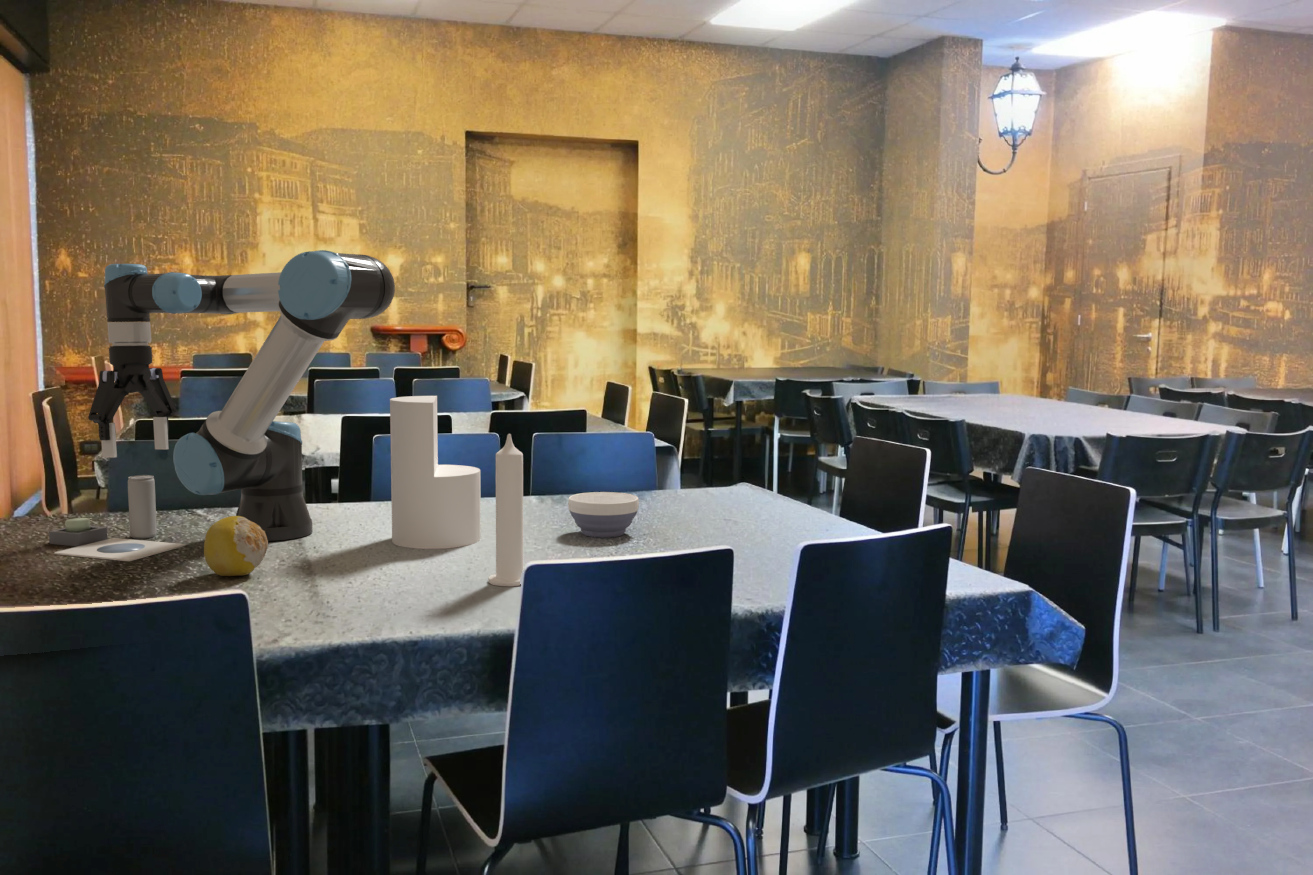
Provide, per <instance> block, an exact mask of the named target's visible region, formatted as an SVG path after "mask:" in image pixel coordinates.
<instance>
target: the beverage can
mask: <svg viewBox="0 0 1313 875" xmlns="http://www.w3.org/2000/svg"><path fill="white" fill-rule="evenodd" d="M127 479H128V480H127V496H128V498H127V499H128V517H129V518H128V520H129V533H130V534H129V535H130V537H132V538H133V539H134V540H144V539H150V538H154V537H155V536H156V535H157V533H158V532H157V531H158V530H157V527H158V526H157V508H156V506H157V505H156V484H155V477H154V475H150V474H139V475H131V476H128V478H127Z"/></svg>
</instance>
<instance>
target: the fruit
mask: <svg viewBox="0 0 1313 875" xmlns="http://www.w3.org/2000/svg"><path fill="white" fill-rule="evenodd" d="M204 537H205V538H204V544H203V556H204V559H205V560H204V561H205V562H206V564H207V566H208V567H209V569H210V570H211V571H212V572H214V574H216V575H218V576H221V577H238V576H239V577H240V576H245V575H249V574H250V573H251V572H253V571H254V570H255V568H257V567H258V566H259V565H260V564H261V563H262V562H263V560H264V558H265V556H266V553H267V550H268V547H269V541H268V540H267V536H266V534H265V531H263V530H262V529H261V527H260V526H259V525H257V524H256V523H254V522H252V521H250V520H248V519H246V518H245V517H241V516H236V515H230V516H226V517H223V518H220V519H218V520H217V521H215V522H214V523H213V524H211V526H210V527H209V528H208V530H207V532H206V533H205V536H204Z"/></svg>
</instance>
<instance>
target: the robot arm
mask: <svg viewBox="0 0 1313 875" xmlns="http://www.w3.org/2000/svg"><path fill="white" fill-rule="evenodd" d="M103 289H104V292H105V293H104V295H105V308H106V321H107V322H106V324H107V337H108V338H107V339H108V343H109V344H112V345H110V346H109V347H108V356H109V357H108V358H109V364H110V365H112V367H113V370H100V371H99V378H98V380H99V381H98V385H97V388H96V391H95V394H94V398H93V401H92V404H91V408H90V410H89V413H88V417H87V419H88V421H92V422H93V423H94V424H98V437H99V441H101V456H102V458H111V459H113V458H118V453H117V452H118V451H117V449H118V448H117V436H116V435H117V434H116V422H112V421H113V419H114V417H115V415H116V414H117V412H118V409H119V408H120V406H121V405H122V402H123V401H124V399H125V397H126V396H128V395H129V394H131V393H132V394H133V393H139V394H141V396H142V397H143V399H144V400H145V401H146V403H147V405H148V406H149V408H150V409H151V410H152V412H154V414H155V416H152V417H153V418H152V422H153V423H152V424H153V437H154V438H153V439H154V441H153V442H154V450H163V451H164V450H169V449H170V448H169V431H170V422H169V418H170V417H173V416H174V414H175V413H176V412H177V407H176V405H175V402H174V401H173V400H174V399H173V398H172V395H171V393H170V392H169V389H168V386H167V384H166V382H165V379H164V375H163V369H162V368H160V367H150V365H152V364H153V350H152V346H151V345H149V343H151V342H152V330H151V318H150V317H151V316H150V314H174V315H175V314H212V315H213V314H217V315H219V314H221V315H233V314H239V313H264V312H266V313H267V312H269V313H270V312H279V313H280V316H279V317H278V319H277V321H276V322H275V324H274V326H273V327H272V329H271V331H270V332H269V334H268V335H267V337H266V339H265V340H264V342H263V343H262V345H261V346H260V348H259V350H258V351H257V353H256V355H254V356H255V357H254V358H253V360H252V361H251V363H250V364H249V366H248V368H247V369H246V371H245V372H244V375H243V376H242V377H241V379H240V381H239V382H238V384H237V385H236V387H235V388H234V390H233V392H232V394H231V395H230V397H229V398H228V400H227V401H226V403H225V404H224V406H223V408H222V410H216V411H213V412H211V413H209V415H208V416H207V417H206V418H205V420H204V421H203V424H202V425H201V427H200V428H199V430H198V431H197V432H196V433H195V432H189V433H187V434H185V435H183V436H181V437H180V438H179V439H178V440H177V442H175V445H174V449H173V459H172V460H173V465H174V471H175V473H176V476H177V478H178V480H179V481H180V482H181V484H182V485H183V486H184V487H185V488H186V489H187V490H188V491H189V492H191V493H193V494H195V495H199V496H206V495H213V496H215V495H219V494H223V493H226V492H231V491H237V490H240V495H241V496H240V501H239V502H238V503H239V504H238V506H237V507H238V508H237V510H236V514H235V516H241V517H245V518H246V519H248V520H250V521H252V522H254V523H256V524H257V525H259V526H260V527H261V529H262V530H263V531H265V534H266V536H267V540H268V542H272V541H273V542H275V541H284V540H285V541H286V540H292V539H299V538H302V537H306V536H309V535H311V534H312V533H313V529H314V528H313V520H312V518H311V515H310V513H309V512H310V511H309V509H308V506H307V504H306V500H305V498H304V495H303V494H304V492H303V446H302V445H303V440H302V435H301V434H302V432H301V431H302V430H301V427H300V425H298V424H297V423H296V422H292V421H291V422H290V421H274V420H275V419H276V417H277V416H278V414H279V413H280V411H281V409H282V408H283V406H284V405H285V403H286V401H287V400H288V398H289V397H290V395H291V393H292V392H294V391H293V390H294V389H295V387H296V386H297V385H298V383H299V381H300V380H301V378H302V377H303V375H304V374H305V373H306V370H307V369H308V367H309V366H310V364H311V363H312V361H313V359H314V358H315V357H316V355H317V354H318V352H319V350H320V349H321V348H322V346H323V344H324V343H325V342H328V341H329V342H330V341H334V340H336V339H338V337H339V335H340V334H341V332H342V331H343V330H344V328H345V326H346V325H347V323H348V322H349V321H350V320H361V319H362V320H364V319H370V318H371V319H372V318H374V317H376V316H379V315H381V314H382V313H384V312H385V311H386V310H387V309H388V308H389V307H390V305H391V304H392V302H393V300H394V297H395V292H396V284H395V280H394V276H393V274H392V272H391V271H390V269H389V267H388V266H386V264H385V263H384V262H382V261H381V260H380V259H378V258H375V257H373V256H370V255H367V254H361V253H360V254H359V253H358V254H354V253H343V252H341V253H340V252H333V251H330V250H326V249H325V250H323V249H322V250H319V249H318V250H315V251H314V250H313V251H312V250H311V251H304V252H301V253H298V254H296V255H295V256H293V257H292V258H291V259H289V260H288V261H287V263H285V265H284V266H283V268H282V270H281V271H279V272H264V273H246V274H228V275H227V274H225V275H205V274H190V273H184V272H173V271H169V272H164V273H163V272H162V273H148V268H147V266H145V265H144V264H139V263H110V264H108V265H107V266H105V268H104V284H103Z"/></svg>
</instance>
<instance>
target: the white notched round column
mask: <svg viewBox="0 0 1313 875" xmlns="http://www.w3.org/2000/svg"><path fill="white" fill-rule="evenodd" d="M389 414H390V415H389V421H390V422H389V425H390V430H389V431H390V480H391V482H390V485H391V486H390V491H391V494H390V495H391V496H390V497H391V542H392V544H394V545H396V546H399V547H402V548H403V547H404V548H409V549H419V550H420V549H421V550H423V549H424V550H436V549H437V550H439V549H452V548H461V547H466V546H469V545H470V546H471V545H474V544H477V543H478V542H480V541H481V539H482V532H481V530H482V527H481V526H482V524H481V522H482V521H481V518H482V516H481V515H482V513H481V511H482V510H481V504H482V503H481V500H482V499H481V496H482V495H481V489H482V488H481V469H480V468H479V467H475V466H470V465H460V464H459V465H458V464H439V458H438V457H439V453H438V452H439V451H438V450H439V446H438V445H439V443H438V439H439V437H438V395H412V396H411V395H410V396H398V397H392V398H389Z"/></svg>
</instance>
